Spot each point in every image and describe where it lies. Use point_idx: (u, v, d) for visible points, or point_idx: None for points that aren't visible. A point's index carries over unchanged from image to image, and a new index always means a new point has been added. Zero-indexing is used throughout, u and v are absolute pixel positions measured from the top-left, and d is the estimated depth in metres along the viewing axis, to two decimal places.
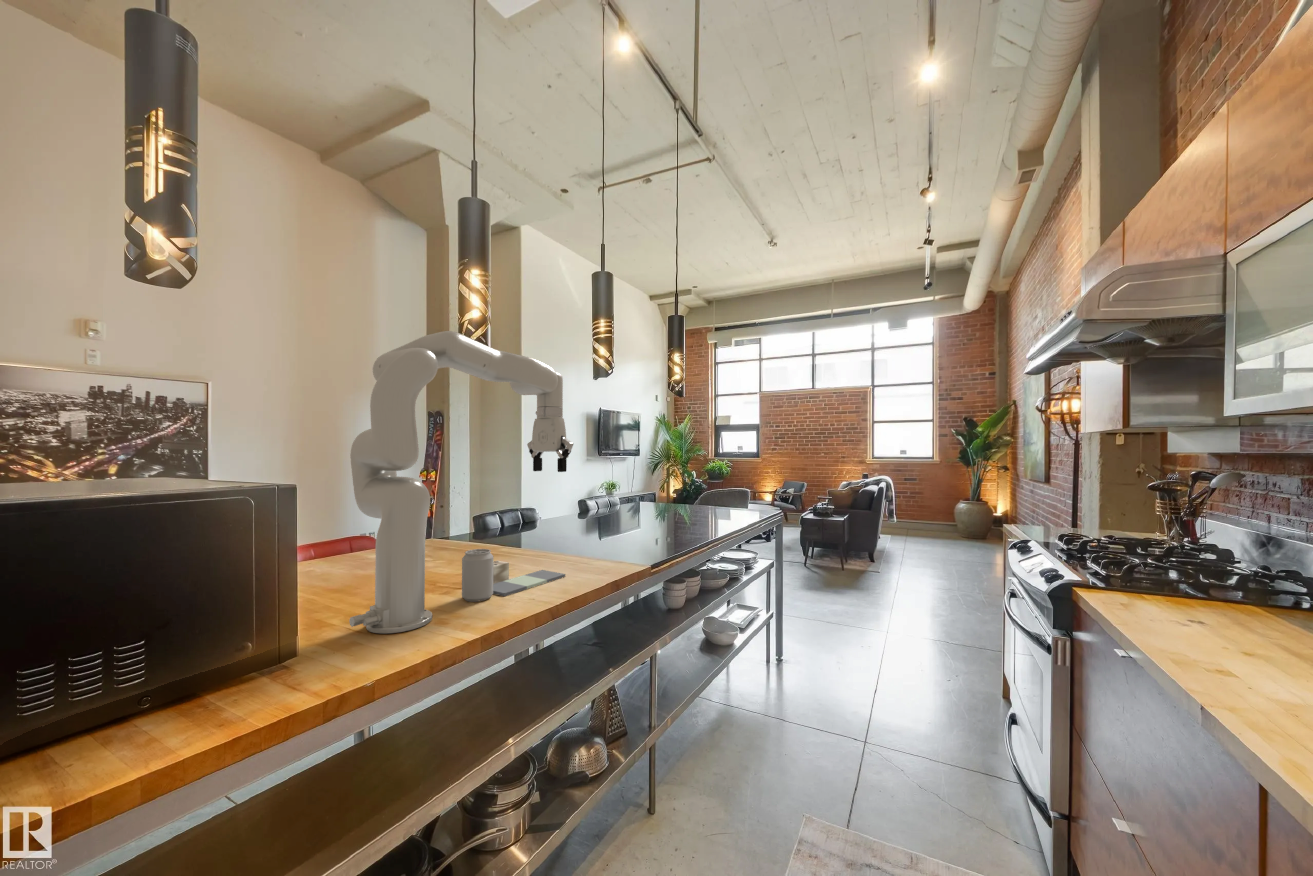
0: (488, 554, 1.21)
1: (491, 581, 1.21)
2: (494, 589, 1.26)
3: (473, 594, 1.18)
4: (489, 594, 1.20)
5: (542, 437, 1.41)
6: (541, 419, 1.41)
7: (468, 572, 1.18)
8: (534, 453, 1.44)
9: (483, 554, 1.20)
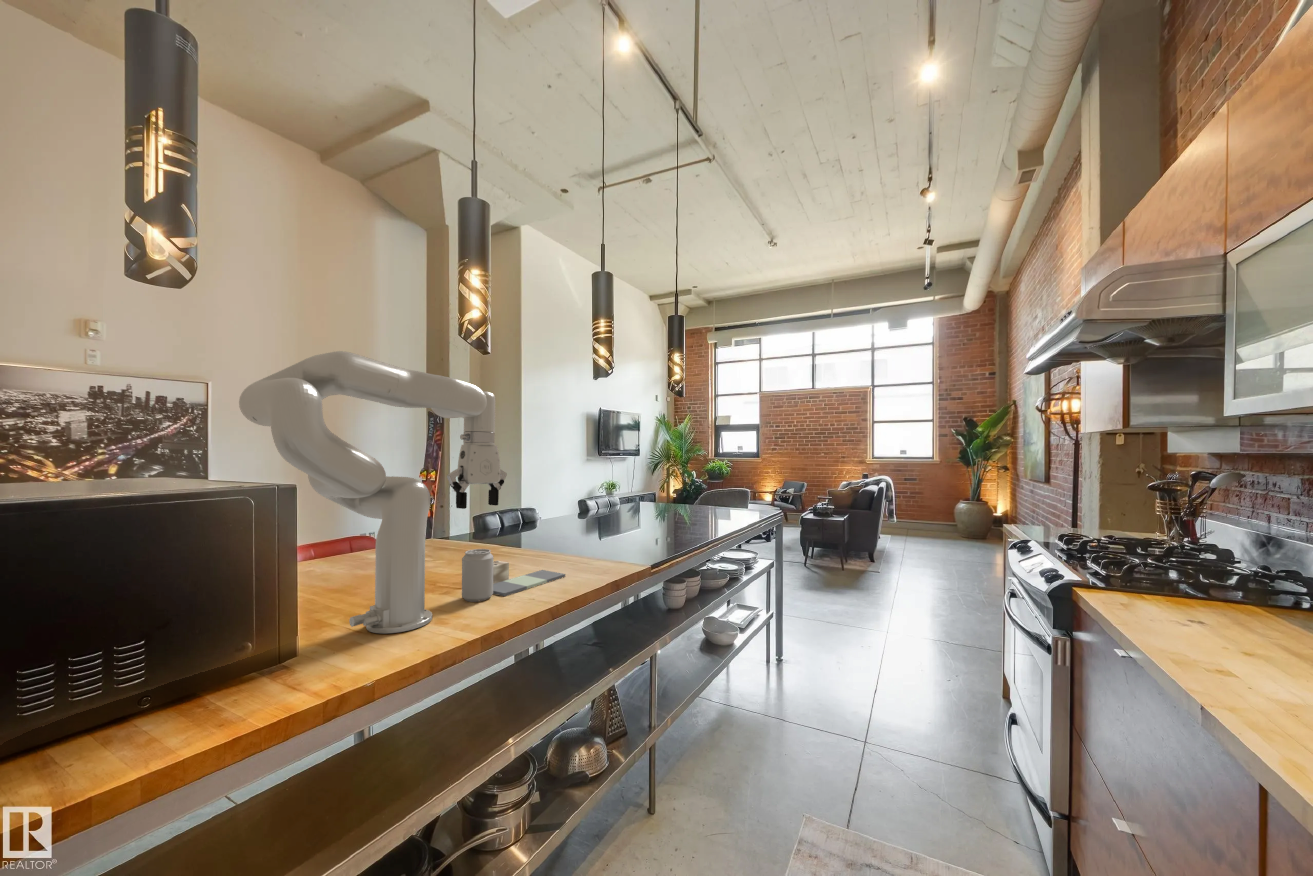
0: (488, 554, 1.21)
1: (491, 581, 1.21)
2: (494, 589, 1.26)
3: (473, 594, 1.18)
4: (489, 594, 1.20)
5: (485, 466, 1.21)
6: (483, 446, 1.21)
7: (468, 572, 1.18)
8: (465, 486, 1.18)
9: (483, 554, 1.20)
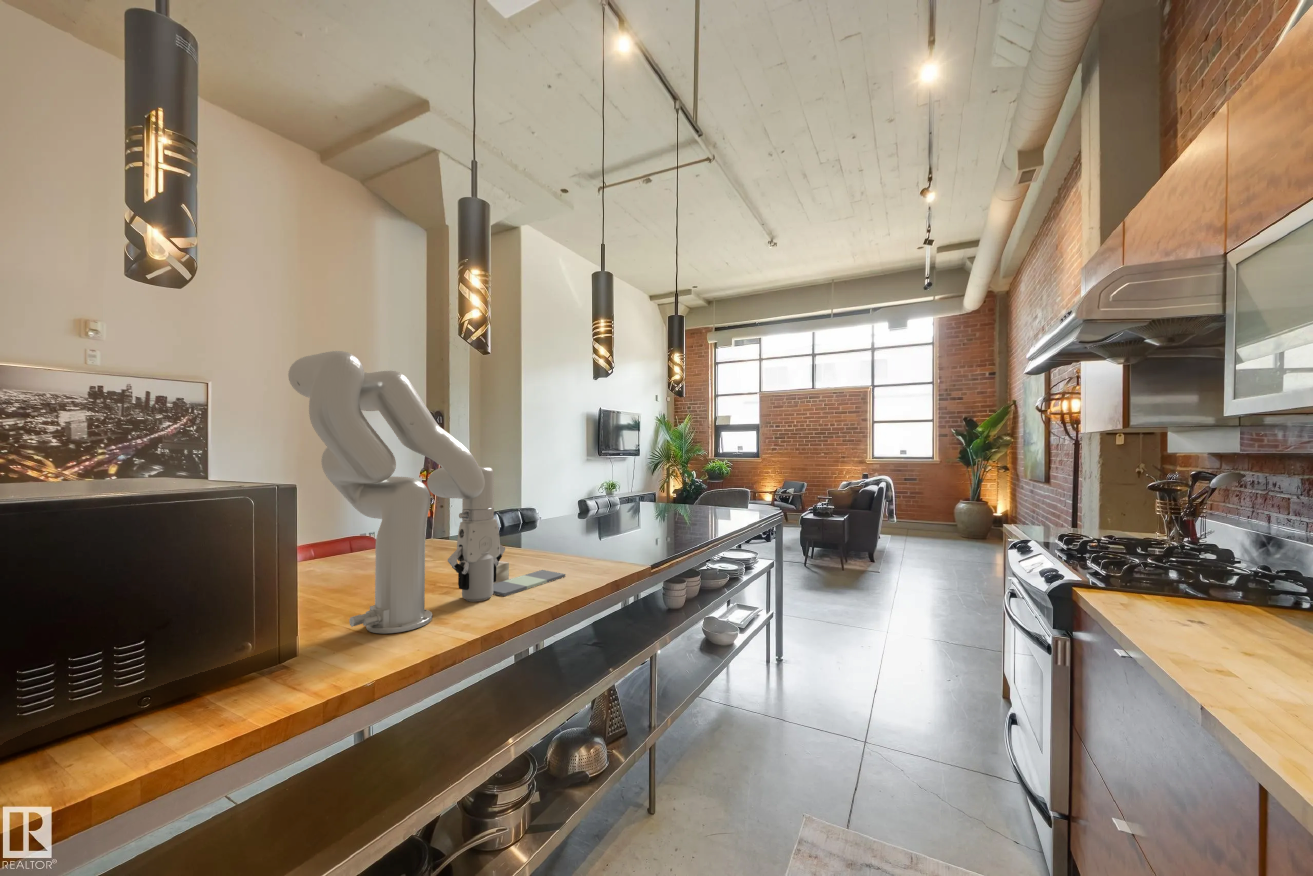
0: (488, 554, 1.21)
1: (491, 581, 1.21)
2: (494, 589, 1.26)
3: (473, 593, 1.18)
4: (489, 594, 1.21)
5: (484, 543, 1.21)
6: (482, 523, 1.20)
7: (468, 572, 1.18)
8: (467, 568, 1.18)
9: (483, 554, 1.20)
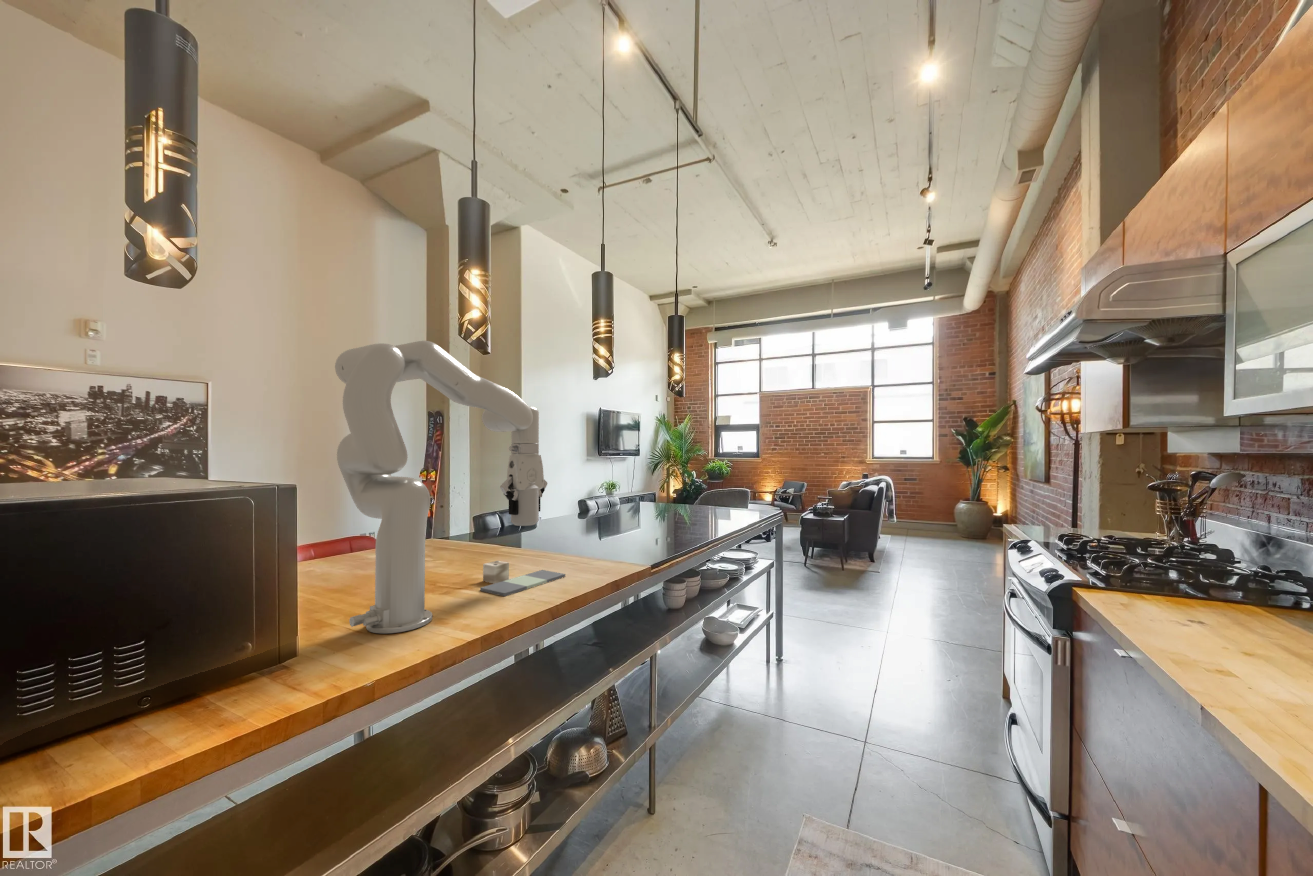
0: None
1: (537, 509, 1.35)
2: (494, 589, 1.26)
3: (522, 518, 1.32)
4: (535, 520, 1.34)
5: (531, 475, 1.34)
6: (529, 456, 1.34)
7: (517, 499, 1.32)
8: (517, 495, 1.31)
9: (530, 484, 1.34)
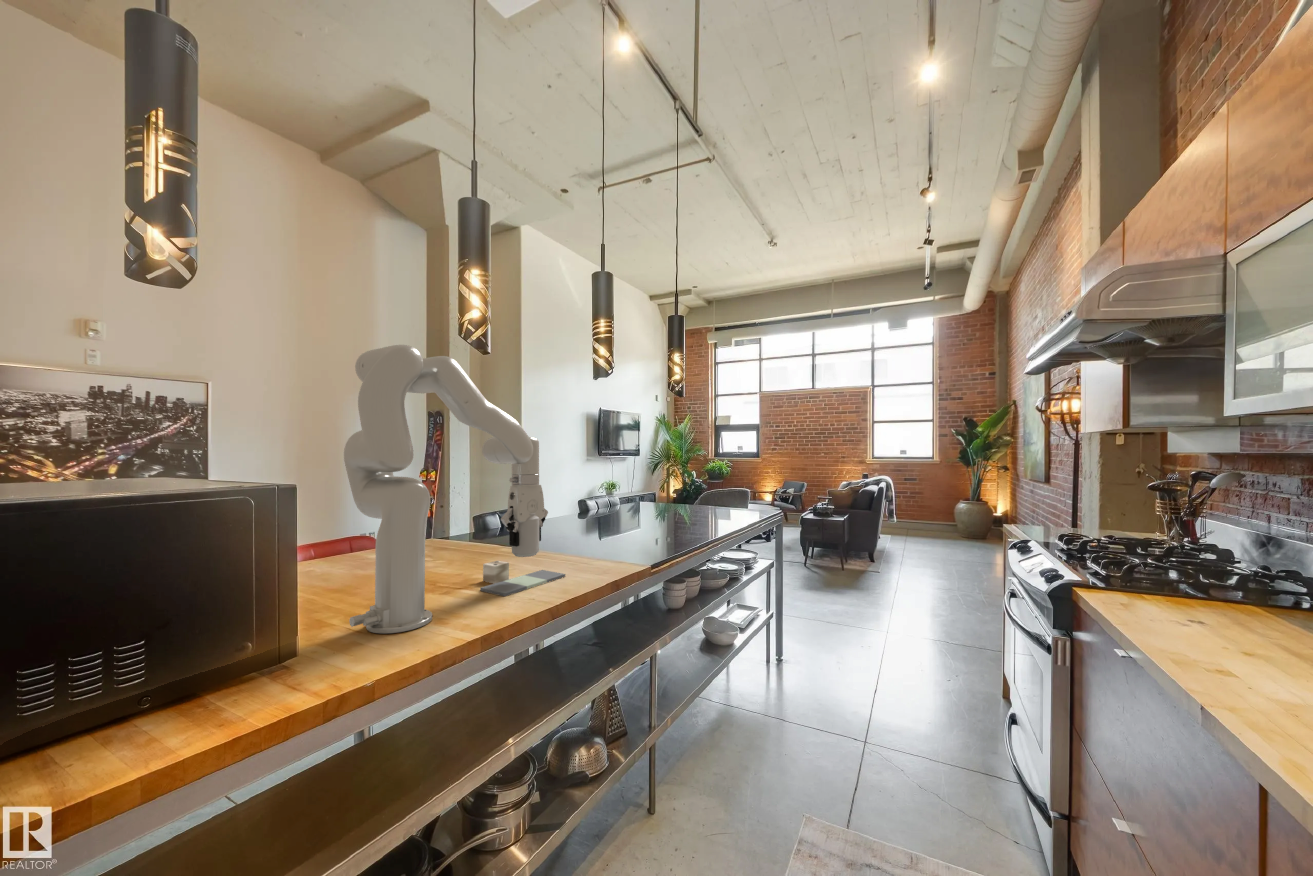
0: (535, 515, 1.35)
1: (538, 539, 1.35)
2: (494, 589, 1.26)
3: (522, 549, 1.32)
4: (536, 551, 1.34)
5: (532, 505, 1.34)
6: (530, 487, 1.34)
7: (518, 530, 1.32)
8: (517, 526, 1.31)
9: (531, 515, 1.34)
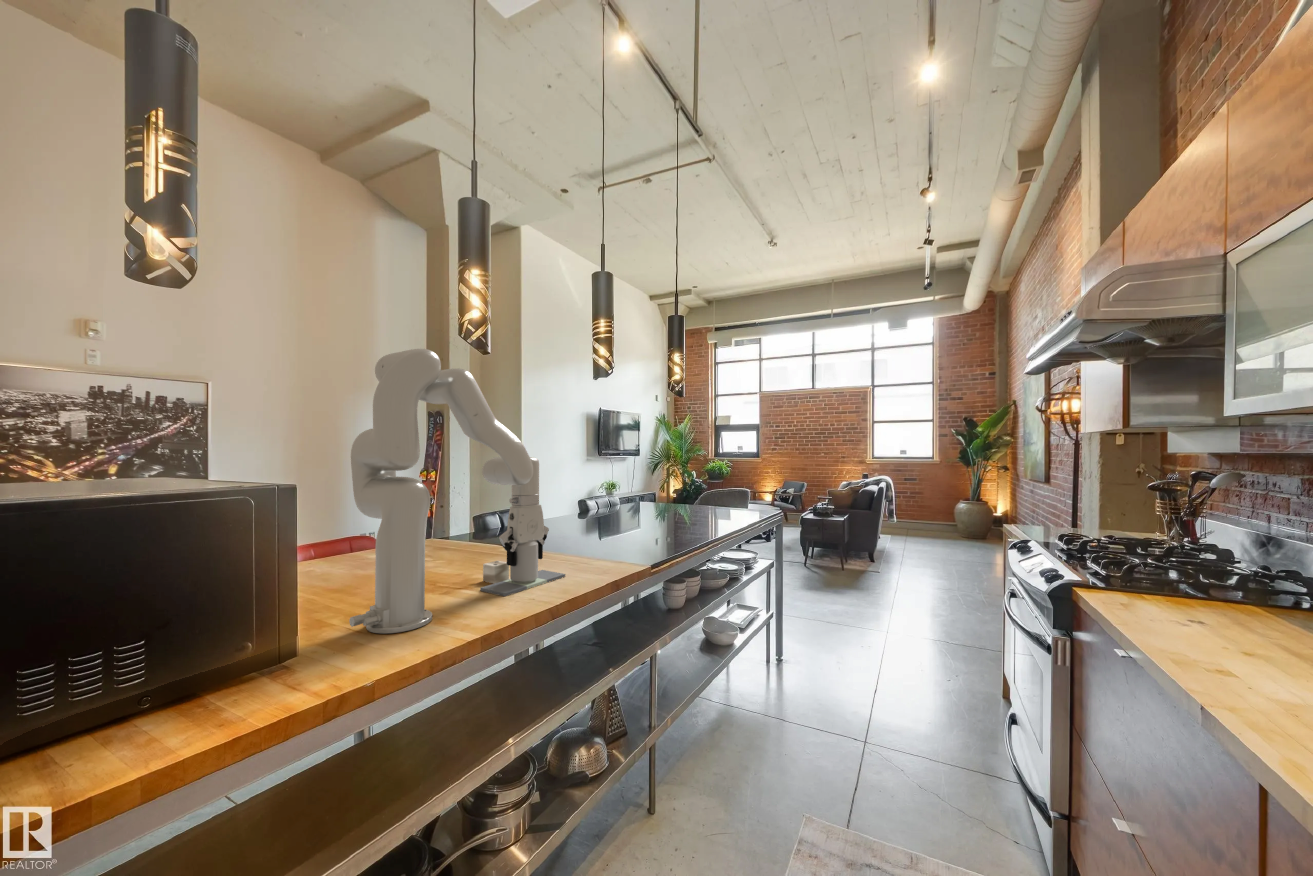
0: (534, 541, 1.34)
1: (536, 565, 1.34)
2: (494, 589, 1.26)
3: (521, 576, 1.31)
4: (535, 577, 1.33)
5: (531, 526, 1.34)
6: (530, 508, 1.34)
7: None
8: (515, 546, 1.31)
9: (530, 541, 1.33)
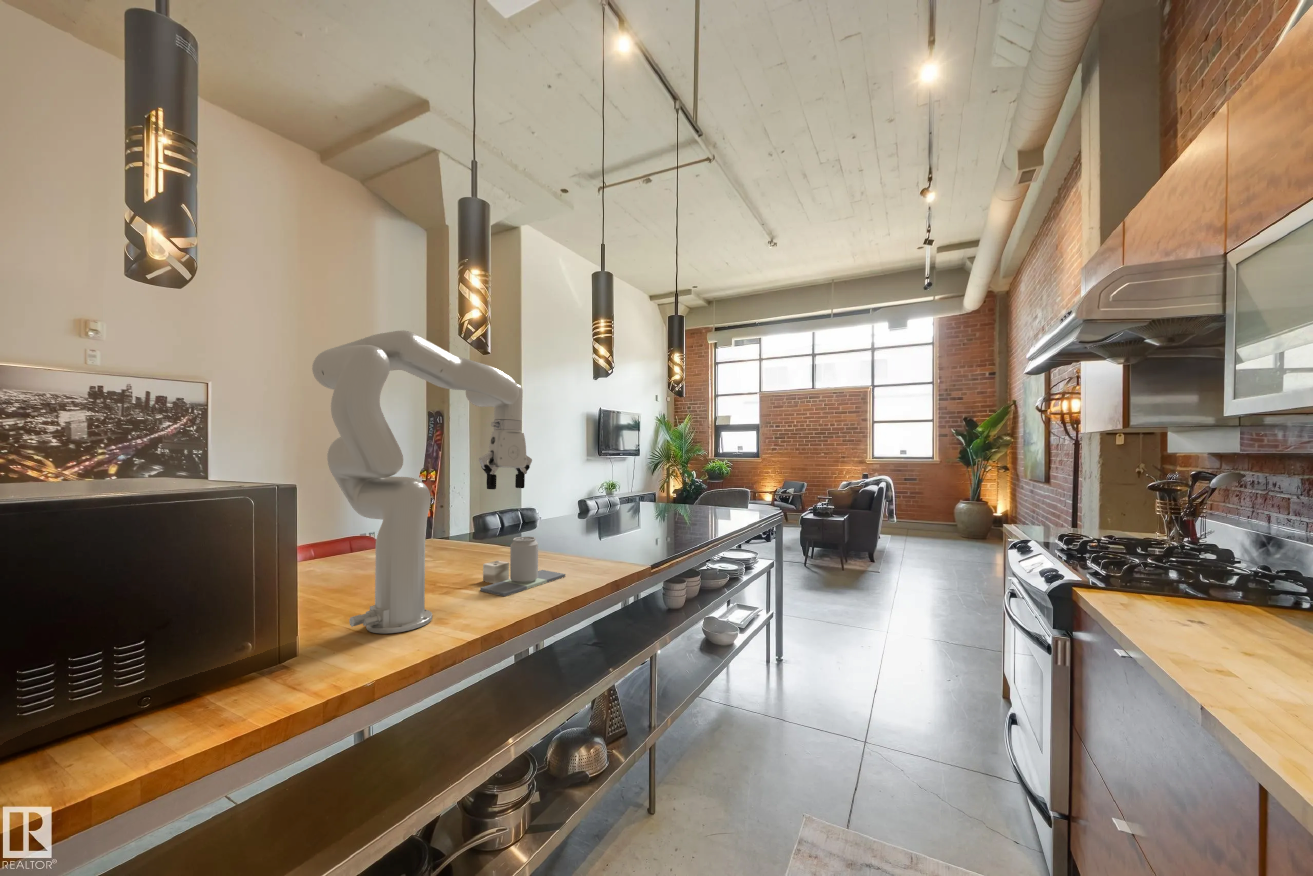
0: (534, 541, 1.34)
1: (536, 565, 1.34)
2: (494, 589, 1.26)
3: (521, 576, 1.31)
4: (535, 577, 1.33)
5: (513, 452, 1.33)
6: (511, 433, 1.33)
7: (516, 557, 1.31)
8: (495, 469, 1.29)
9: (530, 541, 1.33)
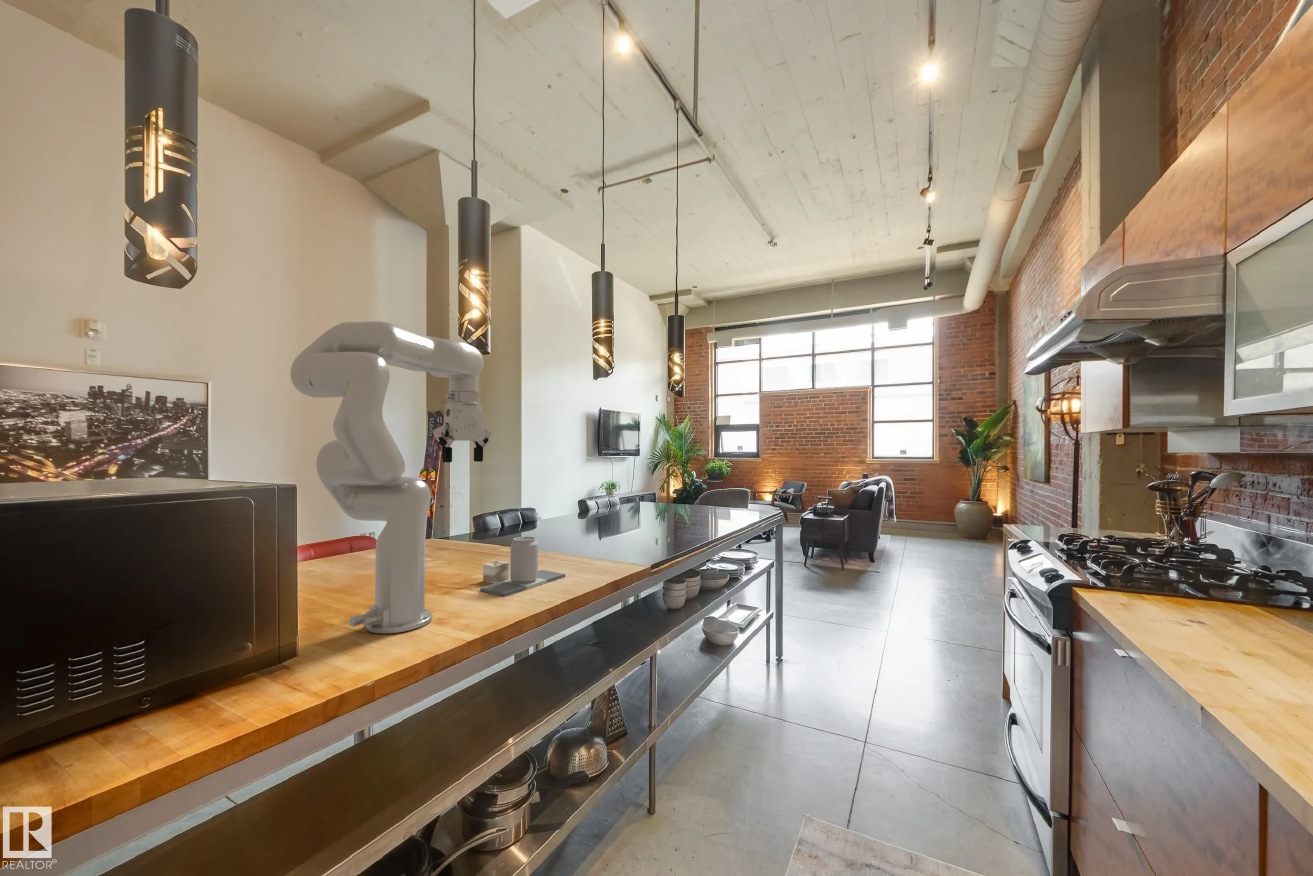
0: (534, 541, 1.34)
1: (536, 565, 1.34)
2: (494, 589, 1.26)
3: (521, 576, 1.31)
4: (535, 577, 1.33)
5: (469, 424, 1.30)
6: (467, 405, 1.30)
7: (516, 557, 1.31)
8: (450, 442, 1.27)
9: (530, 541, 1.33)
